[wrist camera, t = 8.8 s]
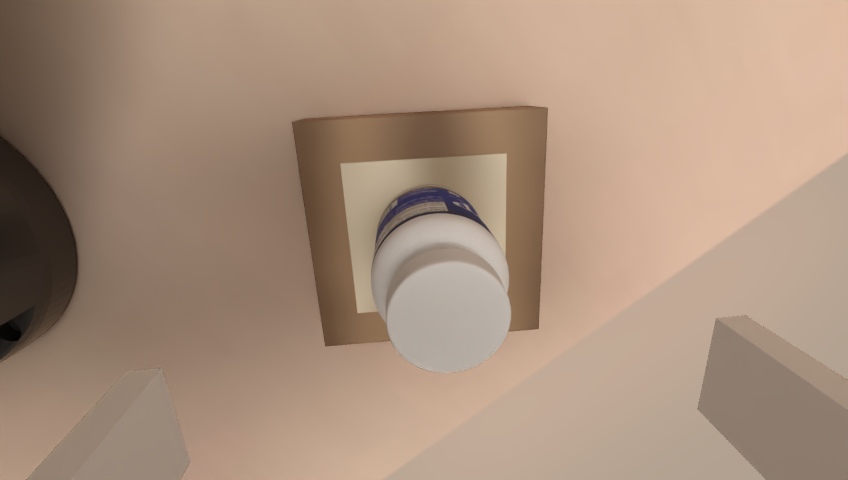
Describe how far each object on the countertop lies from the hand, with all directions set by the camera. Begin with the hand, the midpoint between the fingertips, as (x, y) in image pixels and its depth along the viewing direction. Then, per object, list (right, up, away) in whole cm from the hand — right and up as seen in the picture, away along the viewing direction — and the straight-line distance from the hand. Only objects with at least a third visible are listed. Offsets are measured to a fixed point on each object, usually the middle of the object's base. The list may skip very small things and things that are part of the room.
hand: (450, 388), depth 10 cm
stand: (-1, +5, +14) cm, 15 cm away
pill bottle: (0, +4, +11) cm, 12 cm away
